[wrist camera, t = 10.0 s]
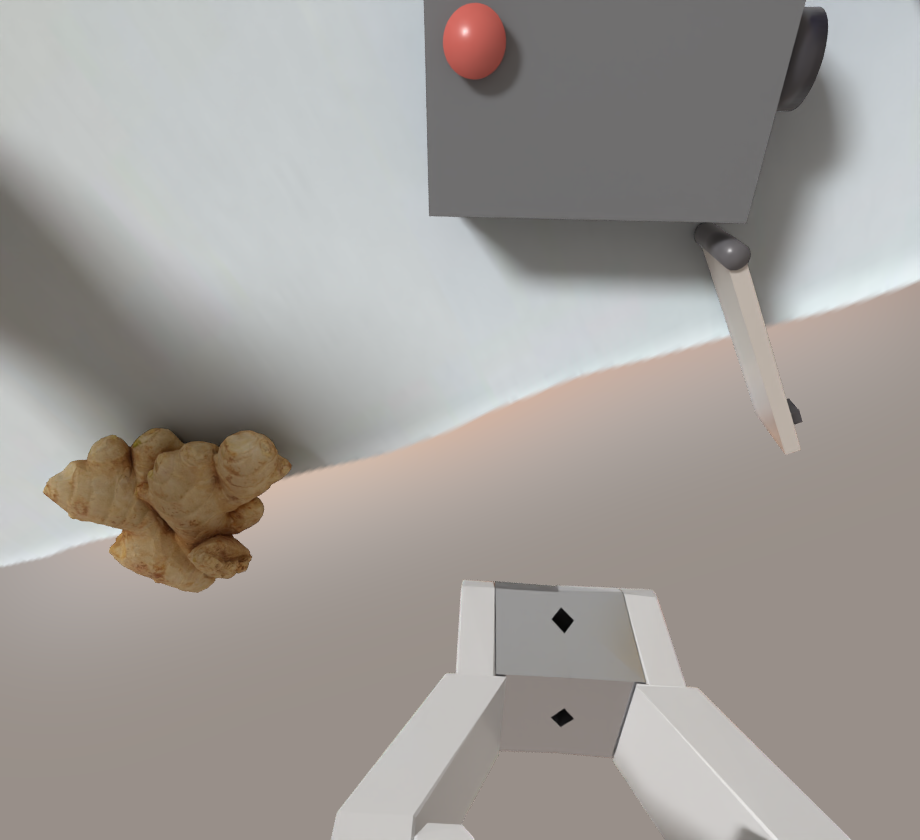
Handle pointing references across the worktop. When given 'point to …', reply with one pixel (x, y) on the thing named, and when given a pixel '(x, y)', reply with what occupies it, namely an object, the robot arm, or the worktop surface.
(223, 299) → the worktop surface
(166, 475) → the ginger root
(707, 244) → the side door
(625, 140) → the camera body
